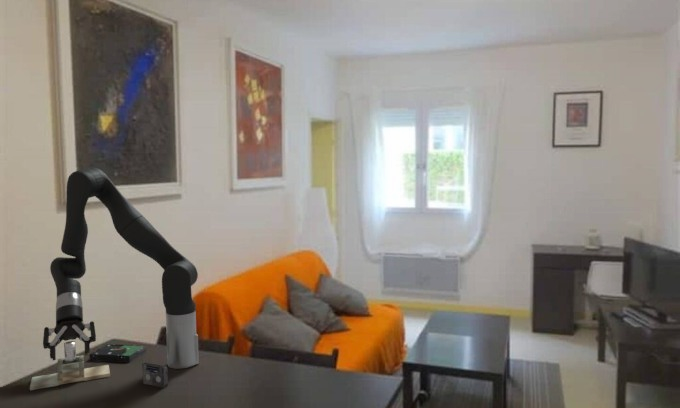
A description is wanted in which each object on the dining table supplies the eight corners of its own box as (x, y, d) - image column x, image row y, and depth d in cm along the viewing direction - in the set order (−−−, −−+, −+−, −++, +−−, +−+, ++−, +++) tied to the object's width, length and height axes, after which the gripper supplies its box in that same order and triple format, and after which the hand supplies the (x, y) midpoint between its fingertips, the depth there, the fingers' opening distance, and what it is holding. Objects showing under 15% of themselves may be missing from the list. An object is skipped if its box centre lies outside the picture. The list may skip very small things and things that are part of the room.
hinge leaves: (108, 367, 164) (108, 350, 163) (110, 376, 156) (109, 358, 156) (32, 380, 154) (31, 362, 154) (30, 390, 147) (29, 371, 147)
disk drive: (88, 362, 170) (130, 363, 168) (88, 354, 170) (130, 355, 168) (107, 351, 180) (146, 352, 178) (106, 343, 180) (146, 344, 178)
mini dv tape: (167, 386, 149) (167, 366, 149) (164, 388, 148) (163, 367, 147) (146, 381, 152) (146, 361, 152) (143, 383, 151) (142, 363, 151)
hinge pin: (76, 372, 157) (75, 340, 156) (76, 375, 155) (75, 343, 154) (65, 374, 156) (64, 342, 155) (65, 377, 153) (63, 345, 152)
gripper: (42, 306, 157) (42, 354, 148) (94, 300, 164) (96, 346, 154) (44, 319, 162) (44, 366, 153) (94, 313, 169) (96, 358, 159)
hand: (70, 356), depth 154 cm, fingers open, 8 cm apart
